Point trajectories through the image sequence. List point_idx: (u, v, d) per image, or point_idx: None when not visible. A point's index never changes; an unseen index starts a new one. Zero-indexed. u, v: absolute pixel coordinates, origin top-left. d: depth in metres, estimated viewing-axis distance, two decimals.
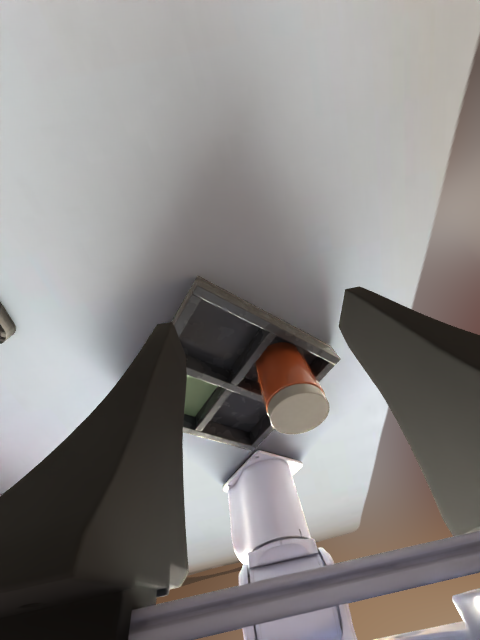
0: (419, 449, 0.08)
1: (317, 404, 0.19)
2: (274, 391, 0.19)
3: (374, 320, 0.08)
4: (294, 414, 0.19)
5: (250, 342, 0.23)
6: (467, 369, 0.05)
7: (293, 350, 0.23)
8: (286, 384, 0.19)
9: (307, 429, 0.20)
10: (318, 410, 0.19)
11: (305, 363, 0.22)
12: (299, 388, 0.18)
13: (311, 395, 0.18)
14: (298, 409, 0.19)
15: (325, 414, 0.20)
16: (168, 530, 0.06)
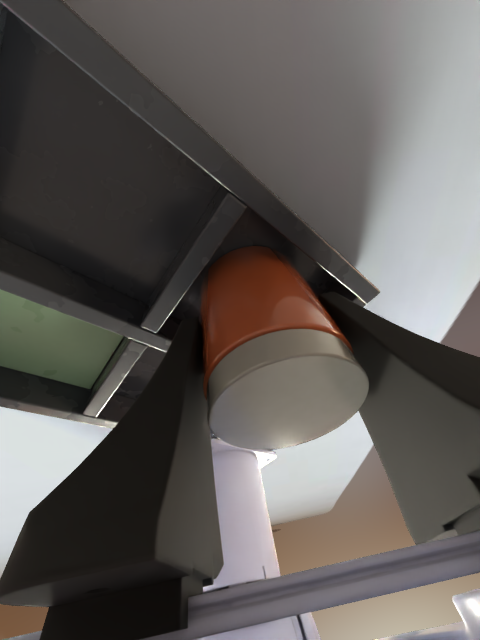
0: (385, 456, 0.07)
1: (340, 387, 0.07)
2: (223, 346, 0.07)
3: (343, 326, 0.08)
4: (274, 410, 0.07)
5: (188, 236, 0.10)
6: (421, 378, 0.05)
7: (285, 262, 0.10)
8: (261, 327, 0.06)
9: (301, 440, 0.08)
10: (338, 402, 0.07)
11: (309, 288, 0.09)
12: (298, 341, 0.06)
13: (331, 364, 0.06)
14: (286, 399, 0.07)
15: (352, 411, 0.08)
16: (208, 521, 0.06)
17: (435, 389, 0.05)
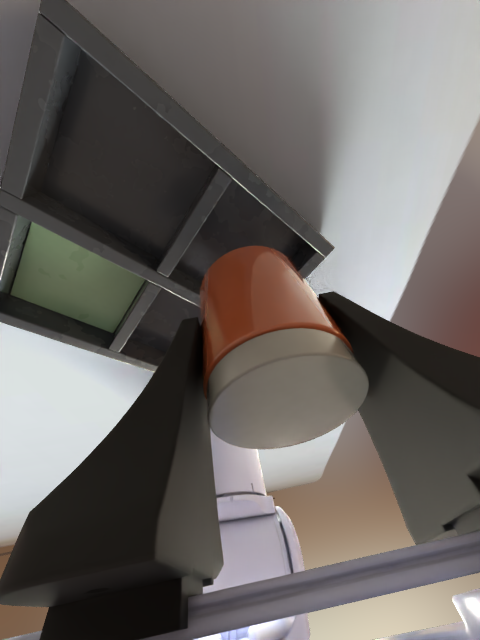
0: (385, 456, 0.07)
1: (340, 387, 0.07)
2: (224, 345, 0.07)
3: (343, 326, 0.08)
4: (274, 410, 0.07)
5: (192, 203, 0.14)
6: (420, 378, 0.05)
7: (285, 261, 0.10)
8: (261, 327, 0.07)
9: (301, 440, 0.09)
10: (338, 402, 0.07)
11: (309, 288, 0.09)
12: (298, 340, 0.06)
13: (331, 363, 0.06)
14: (286, 398, 0.07)
15: (351, 411, 0.08)
16: (208, 521, 0.06)
17: (436, 389, 0.05)
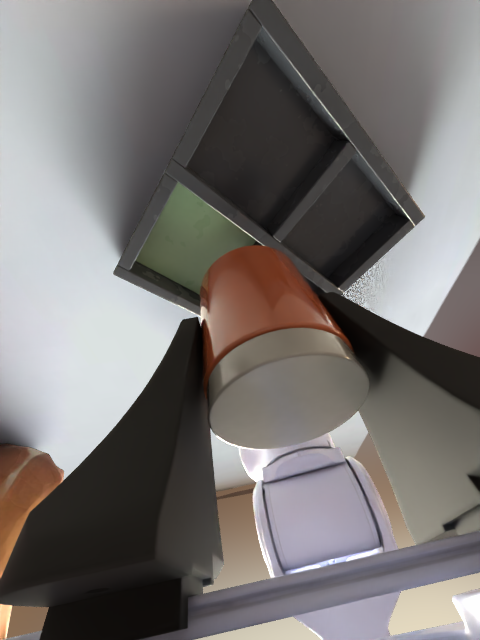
0: (385, 456, 0.07)
1: (341, 387, 0.07)
2: (224, 345, 0.07)
3: (343, 326, 0.08)
4: (275, 409, 0.07)
5: (307, 176, 0.16)
6: (420, 378, 0.05)
7: (285, 261, 0.10)
8: (261, 326, 0.06)
9: (301, 440, 0.08)
10: (338, 401, 0.07)
11: (310, 287, 0.09)
12: (298, 340, 0.06)
13: (332, 363, 0.06)
14: (286, 398, 0.07)
15: (352, 410, 0.08)
16: (208, 521, 0.06)
17: (435, 389, 0.05)
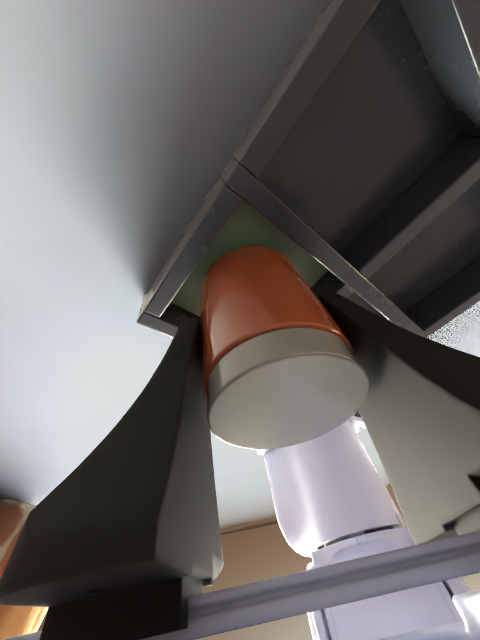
0: (385, 456, 0.07)
1: (340, 387, 0.07)
2: (224, 345, 0.07)
3: (343, 326, 0.08)
4: (274, 409, 0.07)
5: (411, 188, 0.11)
6: (420, 378, 0.05)
7: (285, 261, 0.10)
8: (261, 326, 0.06)
9: (301, 440, 0.08)
10: (338, 401, 0.07)
11: (310, 287, 0.09)
12: (298, 339, 0.06)
13: (331, 363, 0.06)
14: (286, 398, 0.07)
15: (352, 410, 0.08)
16: (208, 521, 0.06)
17: (435, 389, 0.05)
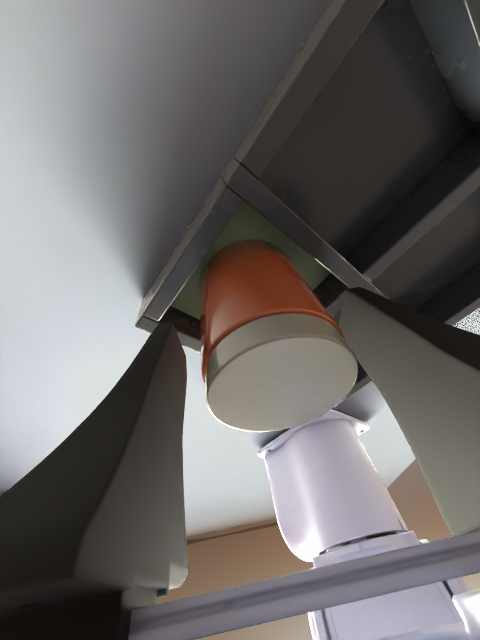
0: (419, 449, 0.08)
1: (330, 369, 0.07)
2: (221, 330, 0.07)
3: (374, 320, 0.08)
4: (269, 391, 0.07)
5: (416, 189, 0.11)
6: (467, 369, 0.05)
7: (280, 254, 0.10)
8: (256, 312, 0.07)
9: (295, 423, 0.09)
10: (329, 384, 0.08)
11: (304, 279, 0.10)
12: (290, 323, 0.07)
13: (321, 345, 0.07)
14: (280, 379, 0.07)
15: (342, 393, 0.08)
16: (168, 530, 0.06)
17: None
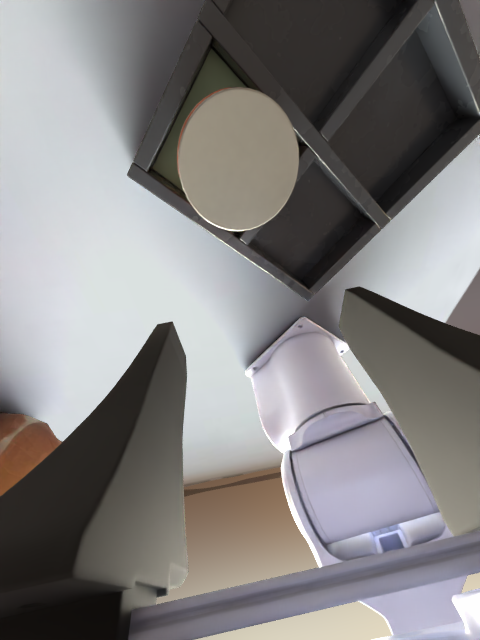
0: (419, 449, 0.07)
1: (275, 142, 0.09)
2: (190, 112, 0.09)
3: (374, 320, 0.08)
4: (228, 165, 0.10)
5: (363, 56, 0.13)
6: (467, 369, 0.05)
7: None
8: None
9: (255, 221, 0.11)
10: (277, 165, 0.10)
11: None
12: None
13: (263, 105, 0.09)
14: (235, 148, 0.09)
15: (290, 182, 0.10)
16: (168, 530, 0.06)
17: None
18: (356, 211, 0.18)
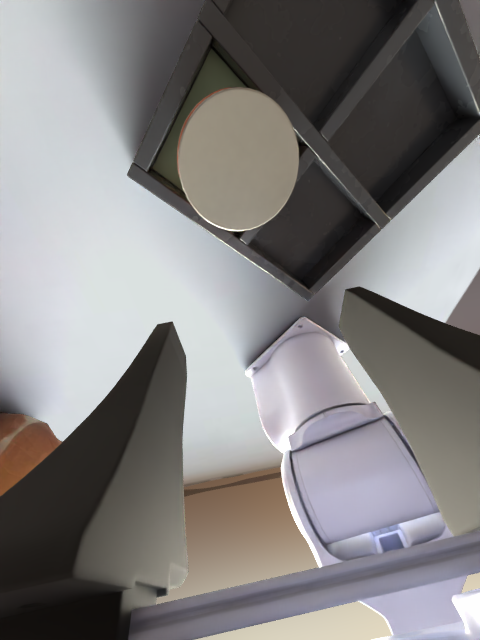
0: (419, 449, 0.07)
1: (275, 142, 0.09)
2: (190, 112, 0.09)
3: (374, 320, 0.08)
4: (228, 165, 0.10)
5: (363, 56, 0.13)
6: (467, 369, 0.05)
7: None
8: None
9: (255, 221, 0.11)
10: (277, 165, 0.10)
11: None
12: None
13: (263, 105, 0.09)
14: (235, 148, 0.09)
15: (290, 182, 0.10)
16: (168, 530, 0.06)
17: None
18: (356, 211, 0.18)
